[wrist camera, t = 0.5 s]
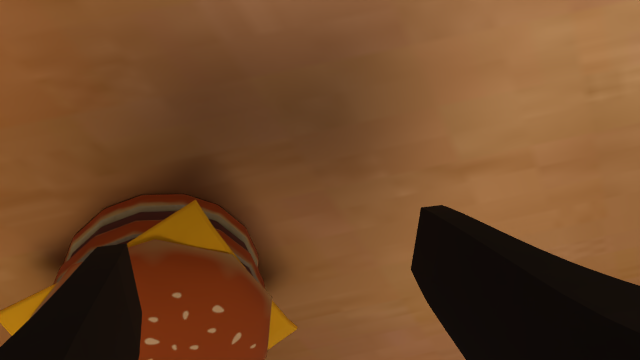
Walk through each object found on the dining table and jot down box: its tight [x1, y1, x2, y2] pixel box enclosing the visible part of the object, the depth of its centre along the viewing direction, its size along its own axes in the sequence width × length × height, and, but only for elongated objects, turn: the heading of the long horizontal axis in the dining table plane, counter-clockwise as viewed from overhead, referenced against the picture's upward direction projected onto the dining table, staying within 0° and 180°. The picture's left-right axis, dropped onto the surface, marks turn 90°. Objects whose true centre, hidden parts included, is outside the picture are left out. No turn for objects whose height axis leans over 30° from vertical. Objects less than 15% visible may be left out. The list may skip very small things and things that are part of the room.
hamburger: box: [0, 194, 297, 360], centre depth 18 cm, size 9×10×7 cm
